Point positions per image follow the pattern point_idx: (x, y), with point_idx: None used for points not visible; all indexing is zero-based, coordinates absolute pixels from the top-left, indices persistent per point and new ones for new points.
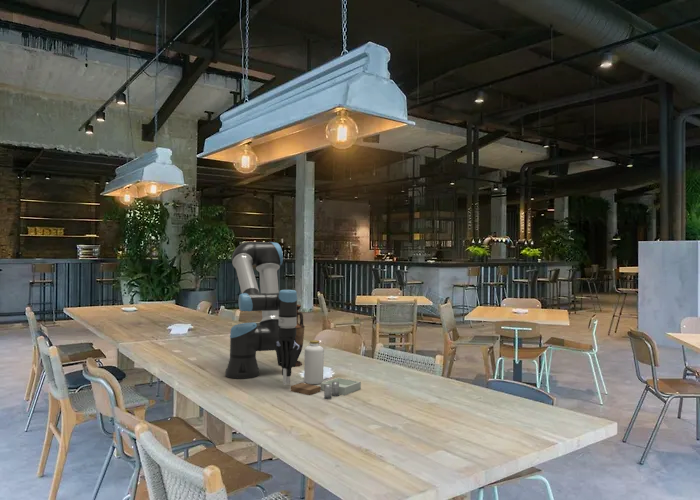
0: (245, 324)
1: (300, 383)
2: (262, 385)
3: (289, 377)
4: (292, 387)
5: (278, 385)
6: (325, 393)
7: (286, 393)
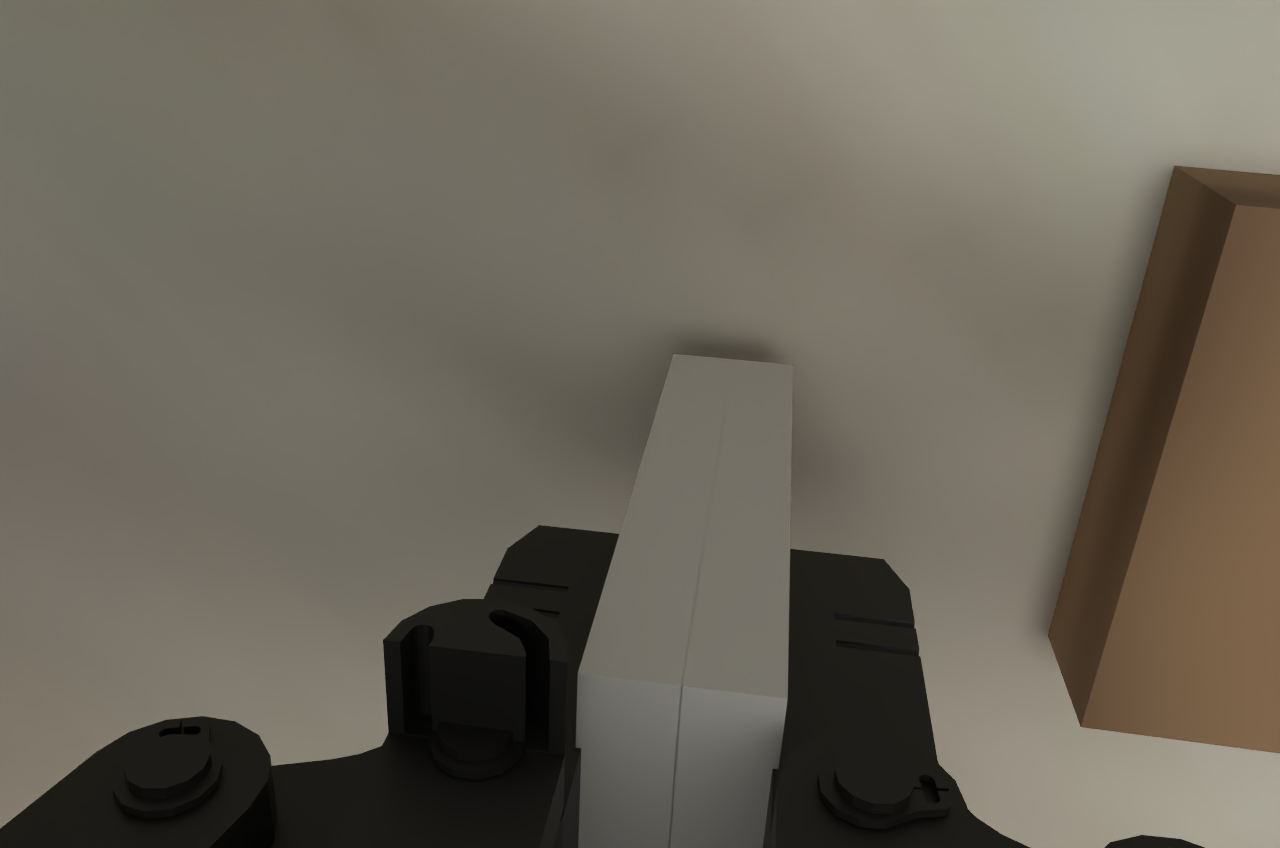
0: None
1: (1245, 336)
2: (102, 552)
3: (786, 475)
4: (1152, 717)
5: (403, 346)
6: None
7: (1067, 828)
